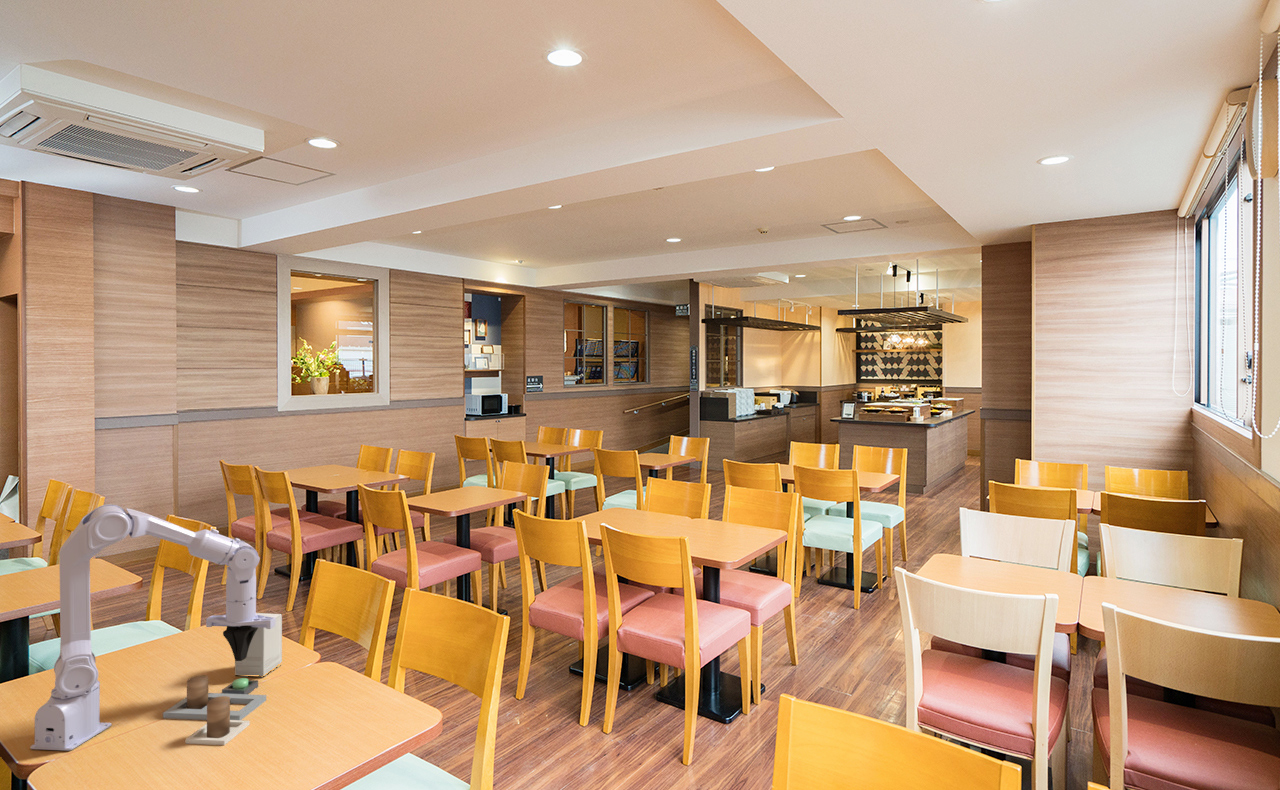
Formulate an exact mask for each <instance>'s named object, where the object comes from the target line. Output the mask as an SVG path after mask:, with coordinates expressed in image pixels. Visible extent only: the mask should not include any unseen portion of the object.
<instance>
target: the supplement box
mask: <svg viewBox="0 0 1280 790" xmlns="http://www.w3.org/2000/svg"><path fill="white" fill-rule="evenodd" d="M256 614H257V615H262V616H267V617H275V618H276V626H274V627H273V628H271V629H266V628H258V629H257V631H256V632H255V634H254V636H253V638H252V641H251V643H250V646H249V649H248V653H247V657H246V658H245V659H244V660H242V661H235V660H234V676H235V675H259V676H263V675H265V674H266V673H268V672H269V671H270V670H272V669H273V668H275V667H276V666H277V665H278V664H280V663H281V662H282V663H283V617H282V616H283V615H282V614H281V613H260V612H256Z"/></svg>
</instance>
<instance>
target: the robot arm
mask: <svg viewBox="0 0 1280 790" xmlns="http://www.w3.org/2000/svg"><path fill="white" fill-rule="evenodd" d="M125 509H126V511H127V512H128V513H127V512H126V511H125ZM125 509H124V508H122V507H121V506H119V505H117V504H110V503H109V504H103V505H99V506H98V507H95V508H94V509H93V510H91V511H90V512H88V513H87V514H86V515H84V516H83V517H82V519H80V521H79V523H78V524H77V526H76V527H75V529H74V530H73V531H72V532H71V533H70V535H69V537H68V538H67V539H66V540H65V541H64V543H63V544H62V545H61V547H60V549H59V553H58V555H59V556H58V557H59V563H58V564H59V615H60V616H59V617H60V618H59V620H60V621H59V623H60V627H59V628H60V629H59V630H60V642H59V644H60V645H59V647H60V651H59V654H58V657H57V660H56V661H55V663H54V667H53V671H54V675H55V681H54V688H52V689H51V692H50V693H51V695H50V697H49V698H48V700H47V701H46V702H45V703H44V704H43V705H42V706H40V707H39V708H38V709H37V711H36V713H35V715H34V744H32V745H31V746H30V749H31V750H47V751H68V752H69V751H72V750H74V749H77V748H78V747H79V746H80V745H82V744H84V743H86V742H87V741H89V740H91V739H92V738H94V737H96V736H97V735H98V734H100V733H101V732H103V731H105V730H107V729H108V728H110V727H111V726H112V723H111V722H100V719H101V718H100V713H101V712H100V711H101V710H100V709H101V708H100V707H101V705H100V702H101V700H100V695H101V691H100V690H101V689H100V688H101V687H100V685H101V682H100V680H98V679H99V670H98V668H97V664H96V663H97V662H96V655H95V654H94V653H93V651H92V637H91V636H92V634H91V633H92V629H91V626H92V625H91V622H92V621H91V560H92V559H93V558H94V557H95V556H96V555H97V554H99V553H100V552H101V551H103V550H104V549H105V548H107V547H109V546H111V545H114V544H116V543H118V542H121V541H122V540H124V539H125V538H126V537H127V536H128V535H129V536H130V539H134V538H135V539H136V538H138V537H143V536H147V535H148V536H152V537H155V538H157V539H161V540H164V541H167V542H169V543H170V542H171V543H174V544H177V545H180V546H184V547H187V550H188V553H189V555H190V556H193V557H196V558H198V559H202V560H205V561H208V562H211V563H214V564H216V565H220V566H223V565H226V566H227V567H226V579H225V614H221V615H219V614H218V615H217V614H216V615H215V614H213V615H210V616H209V617H207V618H206V619H205V620H206V623H205V624H206V625H205V627H206V628H212V627H226V629H225V630H223V632H222V636H223V637H224V638H225V639H226V641H227V643H228V645H229V646H230V648H231V651H232V654H233V658H234V662H235V661H242V660H244V659H245V658H246V657H247V653H248V649H249V646H250V643H251V641H252V638H253V636H254V634H255V632H256V631H257V629H258V628H266V629H271V628H273V627H274V626H276V618H275V617H267V616H262V615H257V614H256V613H257V575H256V572H257V571H256V570H257V566H258V565H259V563H260V559H261V558H260V556H259V553H258V551H257V549H256V548H254V547H253V546H252V545H250V543H248V542H245V541H244V540H241V539H240V538H238V537H235V538H231V537H228V536H225V535H223V534H220V532H219V530H217V529H215V528H211V529H209V530H208V529H201V530H198V531H193V530H190V529H189V528H185V527H182V526H180V525H178V524H175V523H172V522H170V521H167V520H165V519H162V518H160V517H157V516H155V515H151V514H149V513H147V512H143V511H140V510H135V509H134V508H133V509H132V508H128V507H126V508H125Z"/></svg>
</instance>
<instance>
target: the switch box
mask: <svg viewBox="0 0 1280 790" xmlns="http://www.w3.org/2000/svg"><path fill="white" fill-rule="evenodd" d="M255 688H256V689H258V688H259V680H254V679H253V680H252V679H248V686H247V687H245V688H244V689H233V682H231V683H230V684H228V685H226V686H225V687H224V688H222V689H221V693H225V694H251V693H252V692H253V691H255V690H256V689H255ZM254 689H255V690H254Z"/></svg>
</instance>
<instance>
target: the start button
mask: <svg viewBox="0 0 1280 790" xmlns="http://www.w3.org/2000/svg"><path fill="white" fill-rule="evenodd" d="M248 680H249V678H246V677H242V678H237V679H233V681H232V683H233V689H244V688H245V687H247V686H248Z"/></svg>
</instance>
